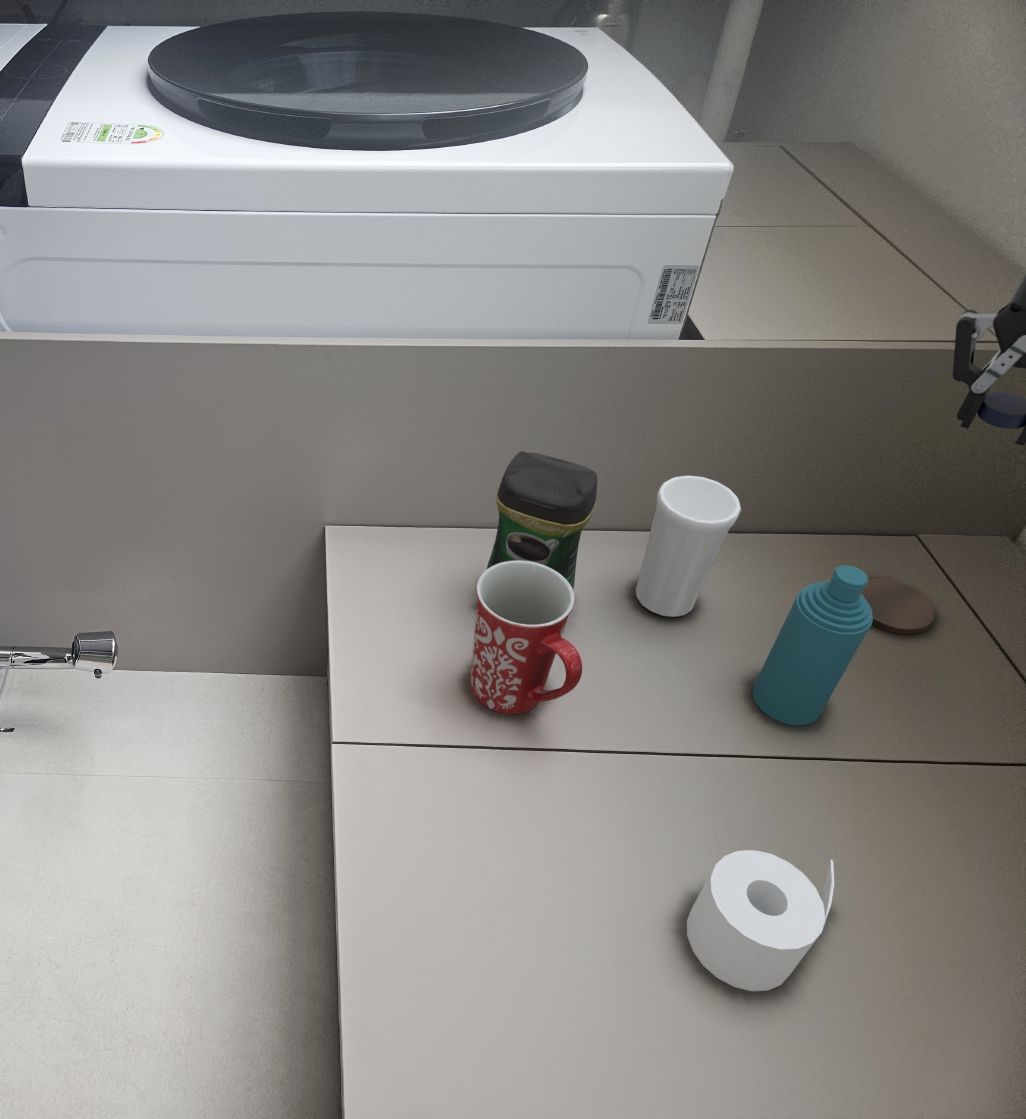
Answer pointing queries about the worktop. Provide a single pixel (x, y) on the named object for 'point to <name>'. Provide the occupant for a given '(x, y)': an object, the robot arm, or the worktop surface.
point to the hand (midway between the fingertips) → (992, 431)
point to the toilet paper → (757, 919)
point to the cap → (1003, 410)
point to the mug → (521, 636)
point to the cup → (684, 542)
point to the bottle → (814, 648)
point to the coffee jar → (543, 512)
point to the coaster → (897, 606)
